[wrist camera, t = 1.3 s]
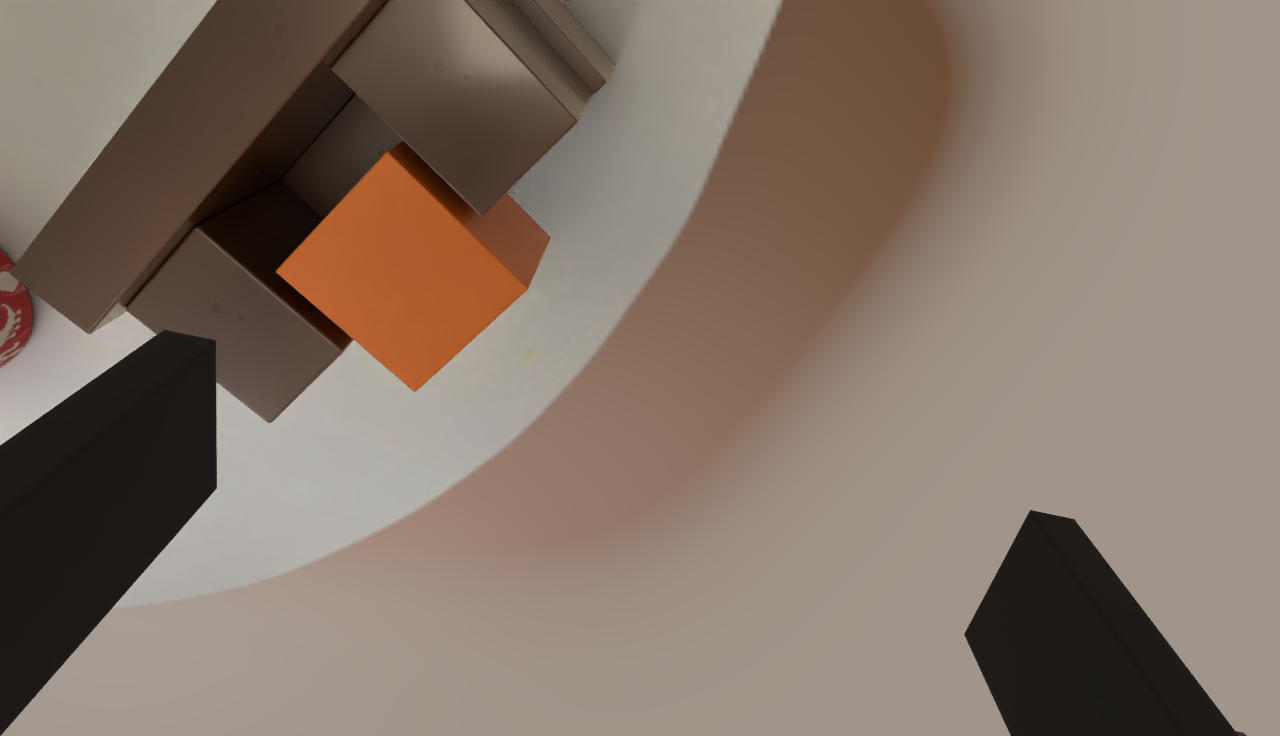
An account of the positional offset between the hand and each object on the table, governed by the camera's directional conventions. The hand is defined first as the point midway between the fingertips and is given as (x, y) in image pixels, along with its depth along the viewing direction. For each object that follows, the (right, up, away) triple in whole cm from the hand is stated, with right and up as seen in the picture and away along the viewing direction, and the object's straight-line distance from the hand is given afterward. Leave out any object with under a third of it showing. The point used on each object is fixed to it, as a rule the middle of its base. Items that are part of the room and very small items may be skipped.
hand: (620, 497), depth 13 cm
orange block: (-6, +7, +13) cm, 16 cm away
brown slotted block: (-8, +11, +17) cm, 22 cm away
